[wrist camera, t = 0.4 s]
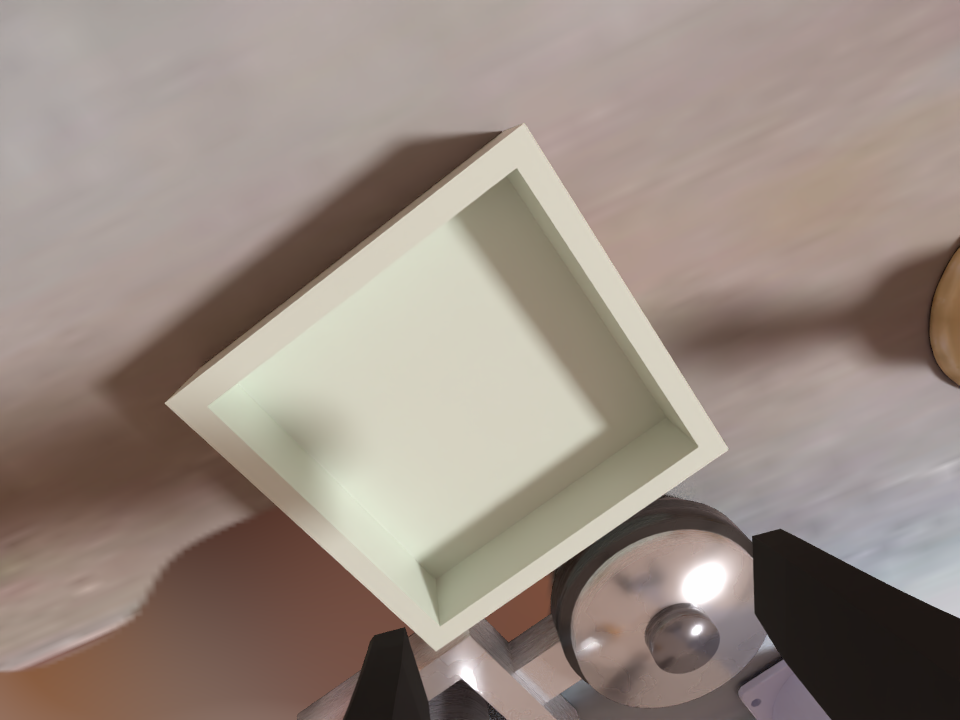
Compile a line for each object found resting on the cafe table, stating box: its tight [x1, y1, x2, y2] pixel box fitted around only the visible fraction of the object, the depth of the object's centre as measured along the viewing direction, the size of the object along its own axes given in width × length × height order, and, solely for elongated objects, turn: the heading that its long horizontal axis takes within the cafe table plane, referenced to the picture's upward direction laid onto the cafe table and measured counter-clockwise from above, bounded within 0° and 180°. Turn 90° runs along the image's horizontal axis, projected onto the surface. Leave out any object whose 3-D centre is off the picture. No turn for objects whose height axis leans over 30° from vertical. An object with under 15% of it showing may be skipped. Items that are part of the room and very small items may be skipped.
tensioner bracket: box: [297, 497, 767, 720], centre depth 23 cm, size 9×20×4 cm, turn 126°
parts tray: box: [165, 123, 729, 651], centre depth 19 cm, size 13×13×3 cm
